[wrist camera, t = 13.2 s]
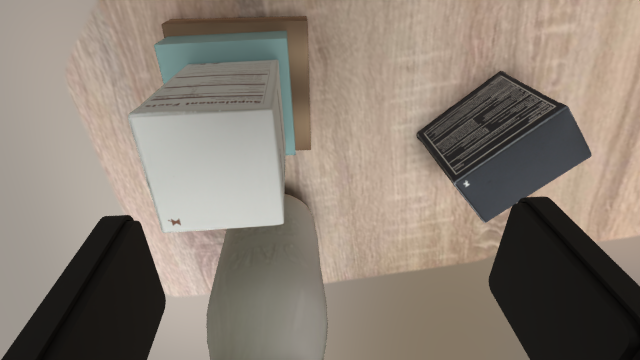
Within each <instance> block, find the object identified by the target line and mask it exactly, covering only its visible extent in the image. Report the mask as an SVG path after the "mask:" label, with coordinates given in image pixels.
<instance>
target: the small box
mask: <svg viewBox="0 0 640 360" xmlns="http://www.w3.org/2000/svg"><path fill="white" fill-rule="evenodd" d="M417 138H418V139H419V140H420V141H421V142H422V143H423V144H424V145H425V147H426V148H427V150H428V151H429V152H430V154H431V155H432V157H433V158H434V159H435V161H436V162H437V163H438V165H439V166H440V167H441V169H442V170H443V171H444V173H445V174H446V175H447V177H448V178H449V179H450V180H451V182H452V183H453V185H454V186H455V187H456V188H457V190H458V191H459V192H460V193H461V195H462V196H463V197H464V198H465V200H466V201H467V202H468V203H469V205H470V206H471V207H472V208H473V210H474V211H475V212H476V214H477V215H478V216H479V217H480V219H481V220H482V221H483V222H484V223H486V222H488V221H489V220H491V219H492V218H494V217H495V216H497V215H499V214H500V213H502V212H503V211H505V210H506V209H508V208H510V207H511V206H513V205H514V204H516V203H517V202H518V201H519V200H520V199H521V198H524V197H527V196H529V195H530V194H532V193H533V192H535V191H537V190H538V189H540V188H541V187H543V186H545V185H546V184H548V183H549V182H551V181H552V180H554V179H556V178H557V177H559V176H560V175H562V174H564V173H565V172H567V171H568V170H570V169H572V168H573V167H575V166H577V165H578V164H580V163H581V162H583V161H584V160H586V159H588V158H589V157H591V152H590V149H589V147H588V145H587V143H586V141H585V139H584V137H583V135H582V133H581V131H580V129H579V127H578V125H577V123H576V121H575V119H574V117H573V115H572V113H571V111H570V109H569V107H568V106H566V105H564V104H562V103H558V102H557V101H555V100H553V99H551V98H549V97H547V96H546V95H543V94H542V93H540V92H538V91H537V90H535V89H533V88H531V87H529V86H527V85H525V84H524V83H522V82H519V81H518V80H516V79H514V78H512V77H511V76H509V75H507V74H506V73H505V72H503V71H500V72H499V73H498V74H496V75H495V76H494V77H492V78H491V79H489V80H488V81H487V82H485V83H484V84H483V85H481V86H480V87H479V88H477V89H476V90H475V91H473V92H472V93H471V94H469V95H468V96H467V97H465V98H464V99H463V100H461V101H460V102H459V103H457V104H456V105H454V106H453V107H452V108H450V109H449V110H448V111H446V112H445V113H444V114H442V115H441V116H440V117H438V118H437V119H436V120H434V121H433V122H432V123H430V124H429V125H428V126H426V127H425V128H424V129H422V130H421V131H420V132H418V133H417Z"/></svg>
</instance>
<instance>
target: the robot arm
mask: <svg viewBox="0 0 640 360" xmlns="http://www.w3.org/2000/svg"><path fill="white" fill-rule="evenodd" d="M489 286H490V290H491V292H492V294H493V296H494V297H495V299H496V301H497V302H498V304H499V306H500V308H501V310H502V311H503V313H504V315H505V317H506V318H507V320H508V322H509V324H510V325H511V327H512V329H513V331H514V332H515V334H516V336H517V337H518V339H519V341H520V343H521V344H522V346H523V348H524V350H525V351H526V353H527V355H528V357H529V358H530V360H640V286H639V285H638V284H637V283H636V282H635V281H634V280H633V279H632V278H631V277H630V276H629V275H627V273H625V272H624V271H623V270H622V269H621V268H620V267H619V266H618V265H617V264H616V263H615V262H614V261H613V260H612V259H611V258H610V257H609V256H608V255H607V254H606V253H605V252H604V251H603V250H602V249H601V248H600V247H599V246H598V245H597V244H596V243H595V242H594V241H593V240H592V239H591V238H590V237H589V236H588V235H587V234H586V233H585V232H584V231H583V230H582V229H581V228H580V227H579V226H578V225H577V224H575V223H574V222H573V221H572V220H571V219H570V218H569V217H568V216H567V215H566V214H565V213H564V212H563V211H562V210H561V209H560V208H559V207H558V206H557V205H556V204H555V203H554V202H553V201H552V200H551V199H550V198H548V197H524V198H521V199H520V200H519V201H518V203H516V204H514V205H513V206H512V208H511V211H510V214H509V217H508V220H507V224H506V227H505V230H504V233H503V236H502V239H501V242H500V245H499V248H498V251H497V254H496V258H495V261H494V264H493V267H492V270H491V273H490V276H489ZM165 302H166V300H165V294H164V291H163V288H162V285H161V282H160V279H159V276H158V273H157V270H156V267H155V264H154V261H153V258H152V255H151V252H150V249H149V246H148V243H147V240H146V237H145V234H144V232H143V229H142V226H141V223H140V222H139V221H134V220H133V218H132V217H131V216H129V215H121V216H105V217H102V218H101V219H100V221H99V222H98V223H97V225H96V226H95V228H94V229H93V230H92V232H91V233H90V235H89V236H88V238H87V239H86V240H85V242H84V243H83V245H82V246H81V247H80V249H79V250H78V252H77V253H76V255H75V256H74V257H73V259H72V260H71V262H70V263H69V264H68V266H67V267H66V269H65V270H64V272H63V273H62V275H61V276H60V277H59V279H58V280H57V281H56V283H55V284H54V286H53V287H52V289H51V290H50V291H49V293H48V294H47V296H46V297H45V299H44V300H43V301H42V303H41V304H40V306H39V307H38V308H37V310H36V311H35V313H34V314H33V316H32V317H31V318H30V320H29V321H28V323H27V324H26V325H25V327H24V328H23V330H22V331H21V332H20V334H19V335H18V337H17V338H16V340H15V341H14V343H13V344H12V345H11V347H10V348H9V349H8V351H7V353H6V354H5V355H4V357H3V358H2V359H1V360H147V358H148V355H149V352H150V349H151V346H152V344H153V341H154V338H155V335H156V332H157V329H158V327H159V324H160V321H161V318H162V315H163V313H164V309H165Z"/></svg>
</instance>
